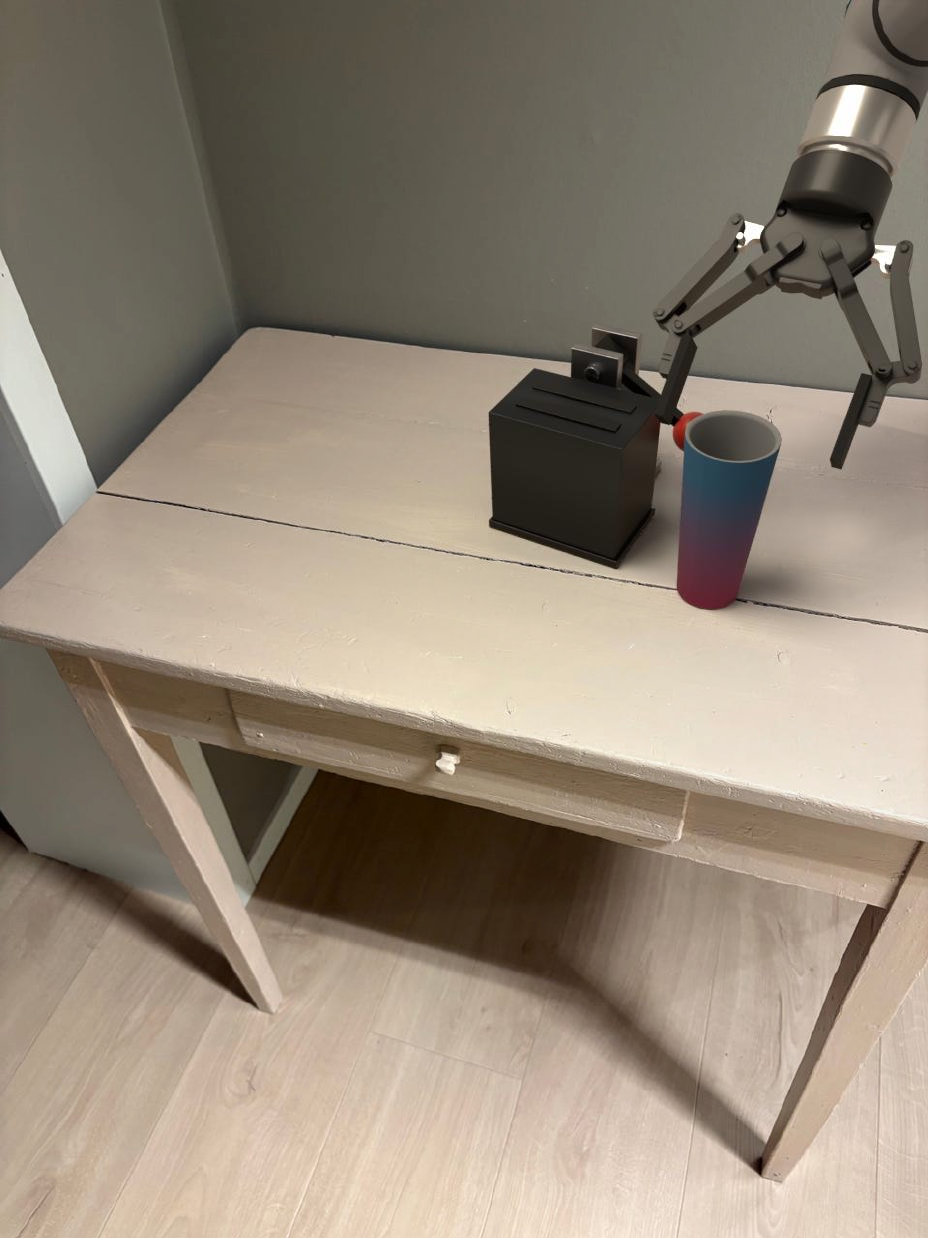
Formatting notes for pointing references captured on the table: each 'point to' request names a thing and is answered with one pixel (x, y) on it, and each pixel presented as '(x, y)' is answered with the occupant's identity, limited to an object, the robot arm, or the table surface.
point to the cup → (722, 502)
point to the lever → (648, 391)
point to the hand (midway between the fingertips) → (745, 441)
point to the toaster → (573, 465)
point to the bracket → (607, 359)
